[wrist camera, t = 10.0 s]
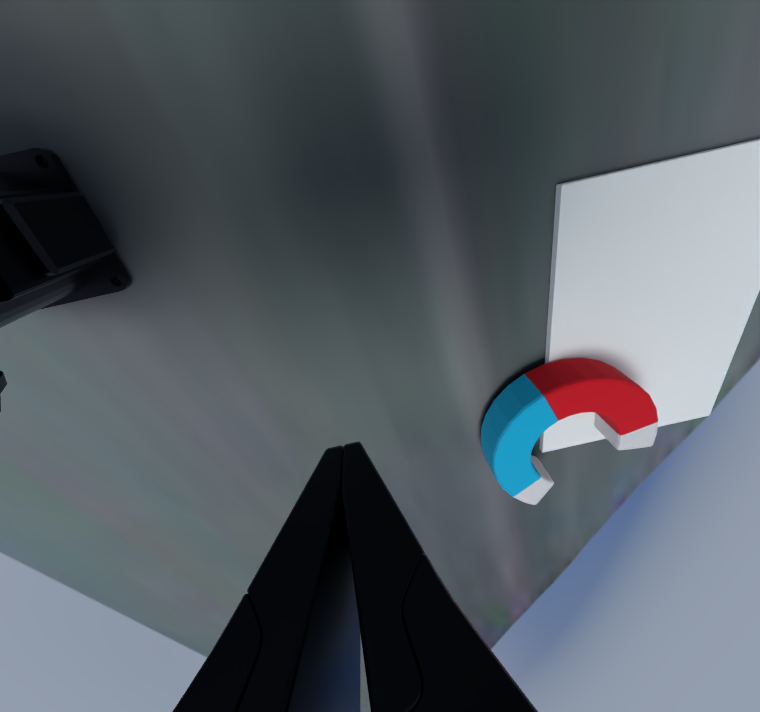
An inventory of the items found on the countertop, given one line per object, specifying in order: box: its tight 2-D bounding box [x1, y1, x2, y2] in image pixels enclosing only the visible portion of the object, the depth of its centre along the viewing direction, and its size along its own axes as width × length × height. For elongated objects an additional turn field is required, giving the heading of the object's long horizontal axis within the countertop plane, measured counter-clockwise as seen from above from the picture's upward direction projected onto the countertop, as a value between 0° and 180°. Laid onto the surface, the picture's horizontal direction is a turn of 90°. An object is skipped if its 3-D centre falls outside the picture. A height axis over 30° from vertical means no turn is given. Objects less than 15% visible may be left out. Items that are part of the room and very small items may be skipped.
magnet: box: [481, 358, 658, 505], centre depth 24 cm, size 12×3×10 cm
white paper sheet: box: [539, 138, 760, 453], centre depth 23 cm, size 14×20×1 cm
